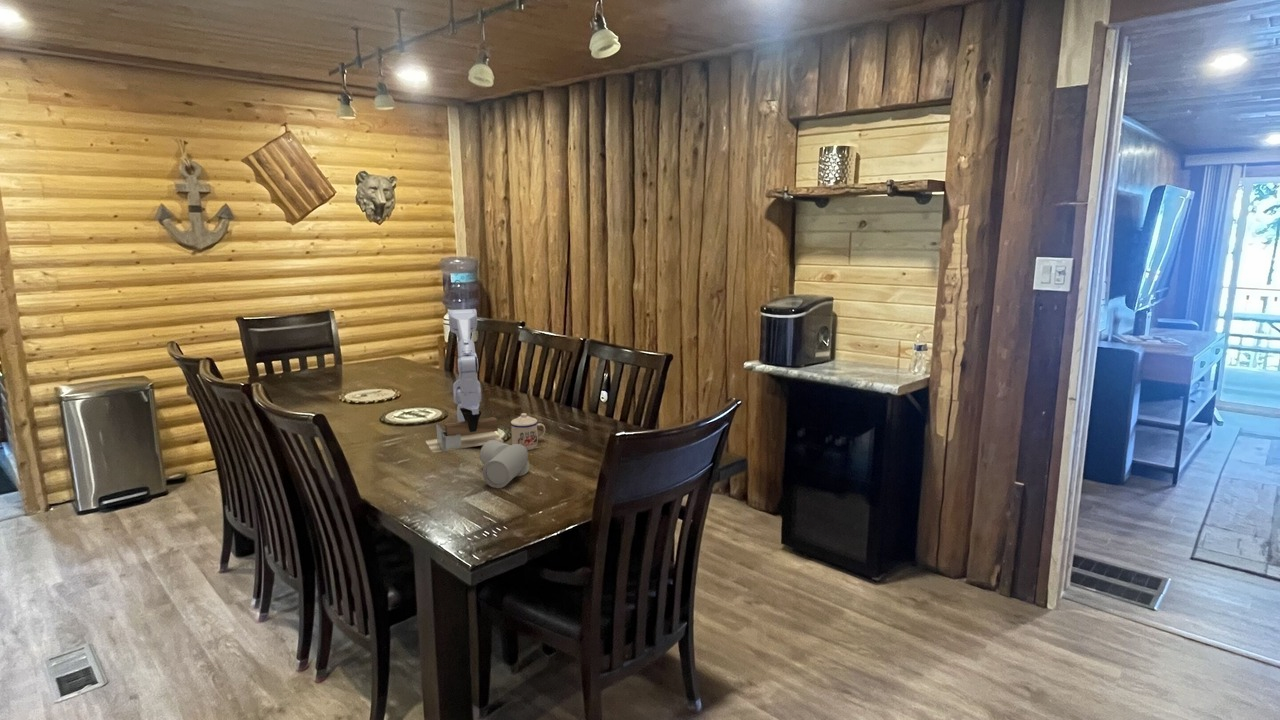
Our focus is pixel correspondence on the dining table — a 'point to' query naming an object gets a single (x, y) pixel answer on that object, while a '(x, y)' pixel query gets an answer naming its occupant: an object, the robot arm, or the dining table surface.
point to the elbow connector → (503, 462)
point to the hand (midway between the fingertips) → (471, 429)
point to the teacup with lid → (525, 431)
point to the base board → (467, 441)
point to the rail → (463, 427)
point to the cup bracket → (447, 440)
